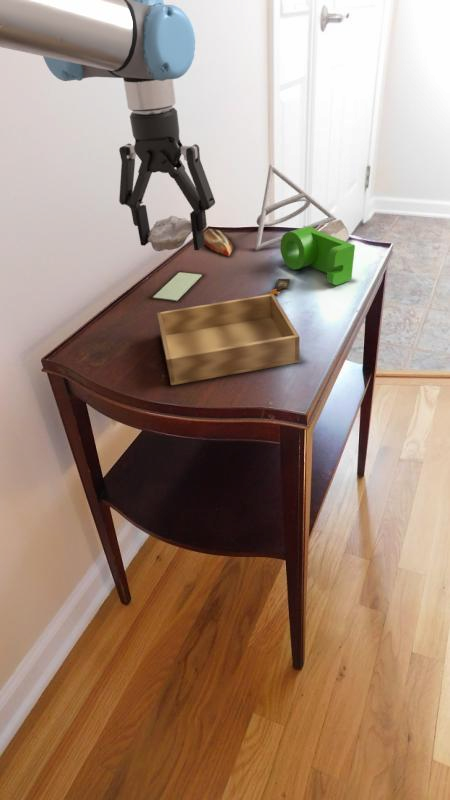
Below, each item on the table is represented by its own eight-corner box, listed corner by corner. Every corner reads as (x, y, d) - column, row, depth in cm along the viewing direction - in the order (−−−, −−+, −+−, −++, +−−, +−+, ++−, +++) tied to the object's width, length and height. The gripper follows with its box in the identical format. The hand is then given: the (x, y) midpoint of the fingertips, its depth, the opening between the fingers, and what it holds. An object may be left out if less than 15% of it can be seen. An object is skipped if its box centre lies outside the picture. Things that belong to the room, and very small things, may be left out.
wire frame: (234, 200, 127) (257, 263, 127) (230, 180, 114) (255, 250, 114) (307, 171, 125) (330, 235, 125) (311, 147, 112) (337, 218, 112)
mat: (176, 301, 99) (176, 300, 99) (153, 297, 101) (152, 296, 101) (201, 275, 107) (201, 274, 107) (179, 273, 109) (179, 272, 108)
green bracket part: (297, 257, 110) (279, 263, 108) (299, 222, 106) (280, 227, 104) (351, 281, 100) (332, 288, 98) (355, 243, 96) (335, 249, 94)
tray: (171, 385, 78) (166, 359, 75) (161, 336, 89) (156, 312, 87) (299, 362, 80) (299, 336, 77) (274, 317, 91) (273, 293, 89)
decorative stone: (245, 252, 114) (244, 243, 113) (221, 258, 113) (220, 249, 112) (217, 232, 125) (217, 224, 124) (195, 237, 123) (194, 229, 122)
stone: (353, 220, 114) (353, 236, 116) (335, 217, 117) (335, 233, 119) (319, 241, 108) (320, 257, 110) (301, 237, 111) (302, 253, 113)
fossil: (152, 245, 92) (136, 207, 97) (157, 272, 98) (142, 235, 102) (200, 231, 93) (183, 194, 98) (203, 258, 99) (186, 222, 104)
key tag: (279, 278, 103) (279, 275, 102) (294, 280, 101) (294, 277, 101) (261, 297, 97) (261, 294, 97) (277, 300, 96) (276, 297, 95)
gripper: (228, 103, 84) (238, 241, 97) (104, 105, 92) (129, 233, 106) (208, 113, 79) (221, 258, 92) (79, 114, 87) (108, 248, 100)
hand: (172, 245), depth 99 cm, fingers closed on fossil, 10 cm apart
